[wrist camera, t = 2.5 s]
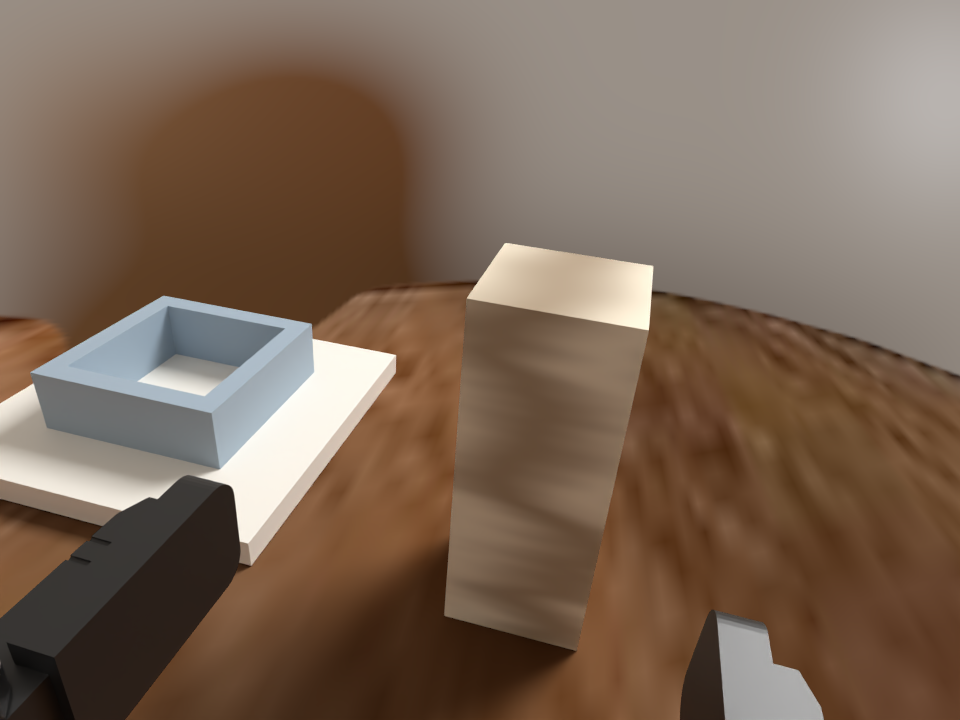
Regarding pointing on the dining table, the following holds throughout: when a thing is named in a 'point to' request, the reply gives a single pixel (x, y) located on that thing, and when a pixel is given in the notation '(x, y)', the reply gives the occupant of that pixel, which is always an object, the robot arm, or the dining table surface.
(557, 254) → the birch post
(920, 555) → the dining table surface
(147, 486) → the sleeve holder
